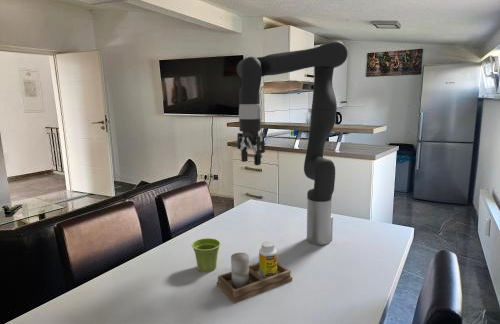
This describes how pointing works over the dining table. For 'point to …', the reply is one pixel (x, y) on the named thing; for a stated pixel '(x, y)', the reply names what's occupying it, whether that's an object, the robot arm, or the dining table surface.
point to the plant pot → (206, 253)
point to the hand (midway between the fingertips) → (250, 163)
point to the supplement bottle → (268, 259)
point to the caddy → (249, 279)
